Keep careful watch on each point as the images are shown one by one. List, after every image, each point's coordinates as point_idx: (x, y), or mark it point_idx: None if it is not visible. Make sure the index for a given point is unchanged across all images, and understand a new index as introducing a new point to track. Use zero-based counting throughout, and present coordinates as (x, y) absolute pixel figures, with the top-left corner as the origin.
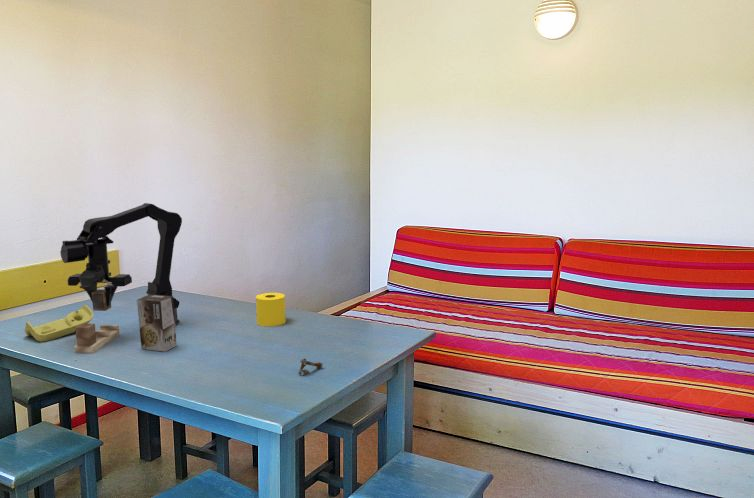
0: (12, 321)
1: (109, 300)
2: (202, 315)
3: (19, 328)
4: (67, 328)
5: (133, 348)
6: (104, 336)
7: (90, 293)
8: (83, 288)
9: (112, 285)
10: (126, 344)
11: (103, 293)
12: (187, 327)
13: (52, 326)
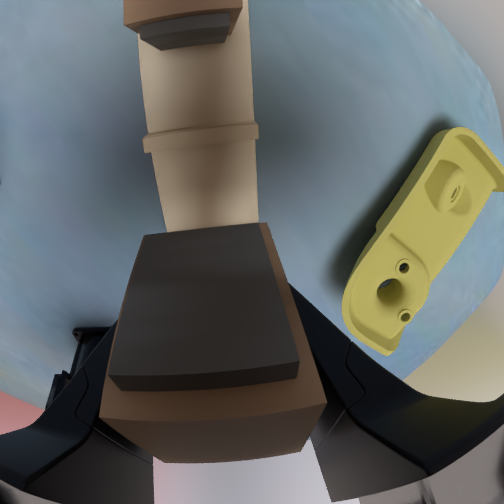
0: (496, 277)
1: (109, 339)
2: None
3: (492, 242)
4: (401, 203)
5: (19, 107)
6: (165, 130)
7: (349, 382)
8: (473, 410)
9: (4, 486)
10: (66, 135)
11: (106, 404)
12: (39, 325)
13: (449, 219)
